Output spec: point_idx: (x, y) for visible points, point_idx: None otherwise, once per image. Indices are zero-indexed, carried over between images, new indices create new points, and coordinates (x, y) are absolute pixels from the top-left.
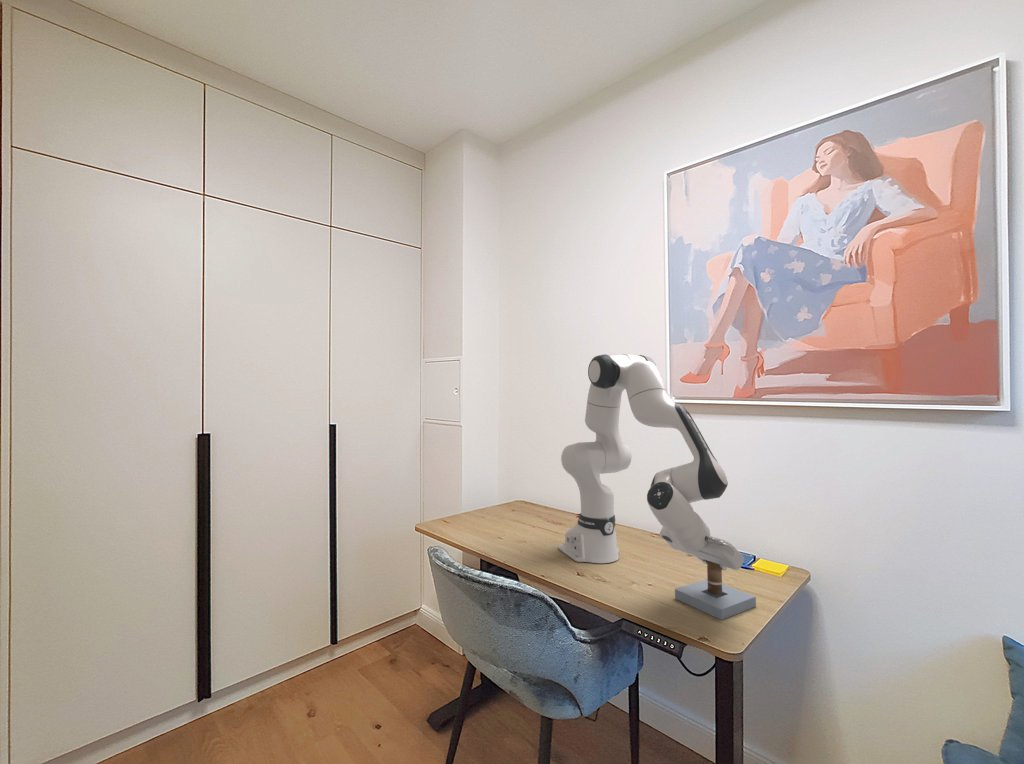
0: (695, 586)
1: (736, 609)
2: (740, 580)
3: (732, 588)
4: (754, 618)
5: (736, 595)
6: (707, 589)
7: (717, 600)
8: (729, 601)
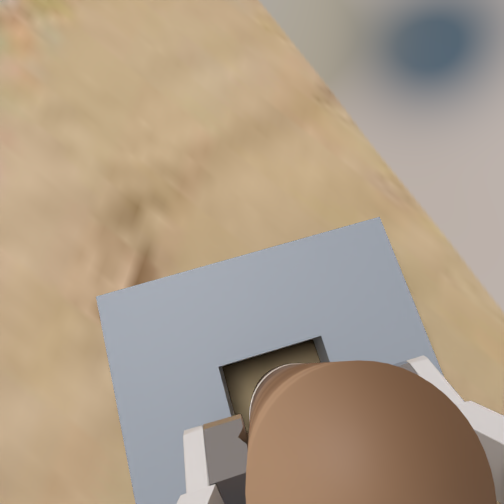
0: (172, 465)
1: None
2: (95, 98)
3: (259, 260)
4: (463, 321)
5: (346, 304)
6: (230, 413)
7: None
8: None
